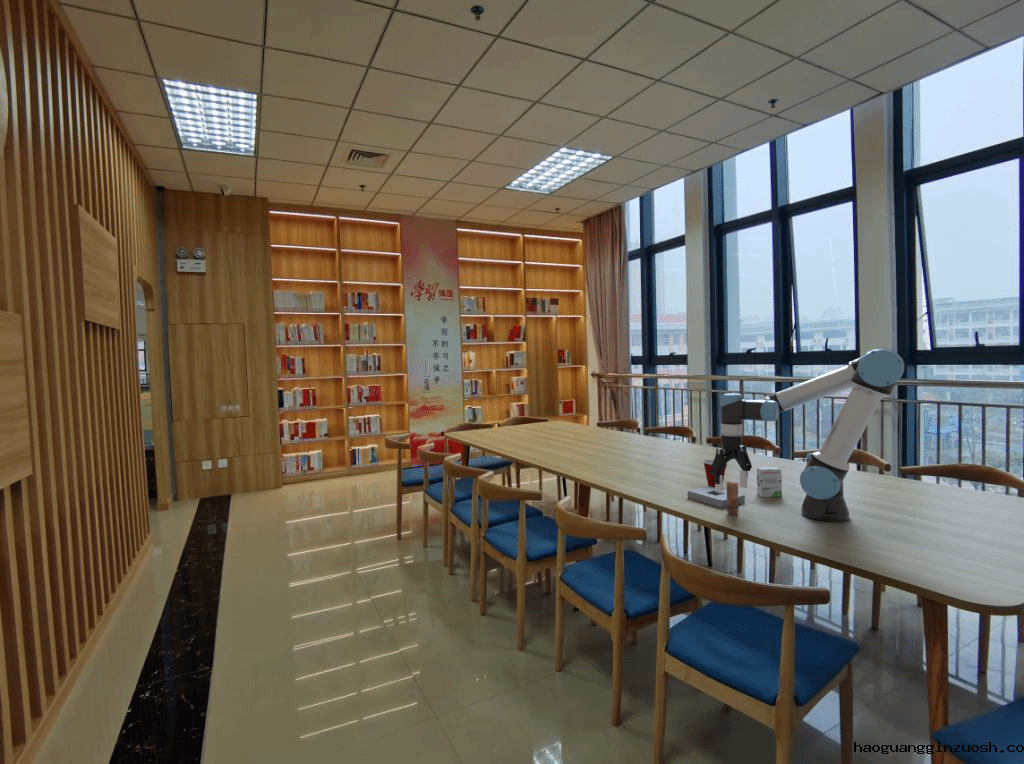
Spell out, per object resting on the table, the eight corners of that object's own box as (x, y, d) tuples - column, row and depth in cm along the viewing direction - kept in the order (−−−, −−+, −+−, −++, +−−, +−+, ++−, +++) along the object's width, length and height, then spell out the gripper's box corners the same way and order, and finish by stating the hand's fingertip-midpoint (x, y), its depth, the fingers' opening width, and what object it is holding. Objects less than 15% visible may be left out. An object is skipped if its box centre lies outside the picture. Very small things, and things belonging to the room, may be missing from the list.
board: (744, 502, 212) (744, 495, 212) (722, 508, 206) (722, 500, 206) (709, 492, 228) (709, 486, 228) (687, 497, 222) (687, 490, 222)
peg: (741, 514, 198) (740, 482, 197) (733, 516, 196) (733, 484, 195) (732, 511, 202) (731, 480, 201) (724, 513, 200) (724, 482, 199)
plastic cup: (732, 490, 231) (731, 463, 230) (707, 490, 232) (706, 463, 231) (724, 483, 242) (723, 458, 241) (700, 484, 243) (699, 458, 242)
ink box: (777, 494, 222) (777, 466, 222) (782, 497, 218) (782, 469, 217) (756, 494, 224) (756, 466, 223) (760, 497, 219) (760, 469, 218)
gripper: (745, 430, 206) (745, 482, 208) (699, 436, 195) (699, 492, 196) (762, 432, 200) (761, 487, 201) (716, 439, 188) (716, 497, 189)
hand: (731, 489), depth 199 cm, fingers open, 13 cm apart
